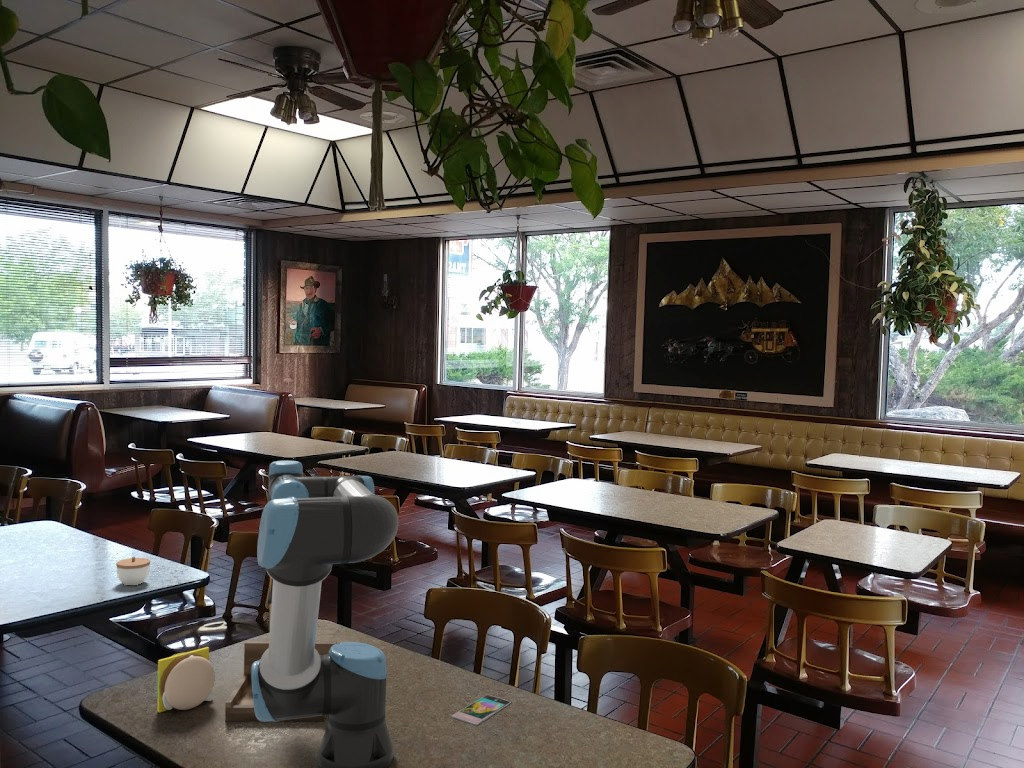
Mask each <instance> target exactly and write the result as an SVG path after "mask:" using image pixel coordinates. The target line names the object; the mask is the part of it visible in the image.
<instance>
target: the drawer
mask: <svg viewBox="0 0 1024 768" xmlns="http://www.w3.org/2000/svg"><path fill="white" fill-rule="evenodd" d="M335 644H338V640H315V649H316V650H317V651H318V653H319V655H326V654H329V650H330V648H331V647H332V646H333V645H335ZM243 645H244V647H243V649H244V650H243V651H244V653H243V675H242V676H241V677H240V679H239V681H238V683H237V684H236V685H235V687H234V688H233V691H231V693H230V695H229V696H228V698H227V699H226V701H225V715H224V716H225V718H224V721H225V722H229V723H231V722H232V723H233V722H237V723H238V722H239V723H242V722H248V723H249V722H252V723H253V722H259V723H262V721H259V720H258V719H257V718H256V715H255V711H254V704H253V692H252V676H251V670H252V664H253V663H254V662H255V661H258V660H260V659H261V657H262V655H263V654H264V652H265V651H266V650H267V649H268V648H269V640H265V639H264V640H263V639H262V640H261V639H258V640H257V639H255V640H249V639H247V640H245V641H244V643H243ZM327 717H328V715H323V716H314V717H306V718H298V719H290V720H282V721H279V722H281V723H282V722H285V723H286V722H293V723H294V722H295V723H297V722H298V723H299V722H303V723H304V722H306V723H309V722H311V723H312V722H317V723H318V722H322V723H323V722H325V721H326V718H327ZM267 722H271V723H272V722H274V721H267ZM279 722H278V723H279ZM274 723H275V722H274Z"/></svg>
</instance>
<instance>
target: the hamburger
mask: <svg viewBox="0 0 1024 768" xmlns="http://www.w3.org/2000/svg"><path fill="white" fill-rule="evenodd" d="M214 669H215V668H214V667H213V665H212V663H211V662H210V647H209V646H206V647H202V648H197V649H194V650H190V651H187V652H179V653H175V654H173V655H171V656H169V657H165V658H161V659H158V660H157V672H156V678H155V681H156V682H155V684H156V699H157V703H156V704H157V706H156V707H157V709H156V710H157V711H156V712H157V713H162V712H165V711H168V710H169V711H170V710H172V709H176V710H180V711H181V710H182V711H186V710H191V709H193V708H196V707H197V706H199V705H201V704H202V703H203V702H205V701H207V702H212V701H213V699H214V694H213V692H212V690H213V687H214V686H215V685H214V684H215V682H216V680H215V679H216V675H215V673H216V672H215V670H214Z"/></svg>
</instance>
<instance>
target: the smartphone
mask: <svg viewBox="0 0 1024 768" xmlns="http://www.w3.org/2000/svg"><path fill="white" fill-rule="evenodd" d="M510 704H512V701H510V700H507V699H503V698H501V697H498V696H493V695H490V694H486V695H484V696H482V697H481V698H479V699H478V700H475V701H474V702H472V703H470V704H469V705H467V706H466V707H463V708H462V709H460V710H459V711H457V712H455V713H454V714H451V718H452V719H453V720H454V719H455V720H458V721H461V722H464V723H466V724H470V725H473V726H478V725H480V724H482V723H483V722H485V721H486V720H488V719H489V718H491V717H492V716H494V715H496V713H498V712H499V711H501V710H503V709H505V708H506V707H508V706H509V705H510Z"/></svg>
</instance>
